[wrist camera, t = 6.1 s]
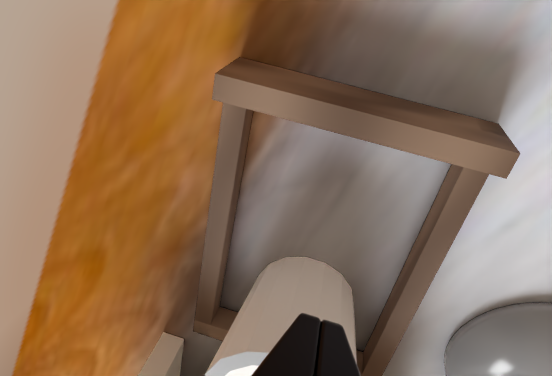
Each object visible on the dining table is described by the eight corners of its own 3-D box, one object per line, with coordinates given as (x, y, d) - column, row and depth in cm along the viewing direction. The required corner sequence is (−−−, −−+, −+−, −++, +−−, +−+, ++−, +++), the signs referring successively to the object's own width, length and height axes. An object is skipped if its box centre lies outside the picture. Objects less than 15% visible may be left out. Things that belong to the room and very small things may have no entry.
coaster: (679, 336, 19) (687, 346, 19) (572, 437, 24) (576, 447, 24) (487, 280, 20) (490, 288, 20) (419, 388, 25) (420, 397, 24)
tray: (498, 123, 17) (520, 153, 14) (374, 368, 25) (373, 415, 22) (239, 57, 18) (215, 73, 15) (202, 312, 26) (182, 351, 23)
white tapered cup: (307, 225, 21) (277, 329, 15) (391, 309, 23) (395, 436, 17) (222, 282, 24) (170, 388, 18) (300, 354, 26) (276, 472, 20)
